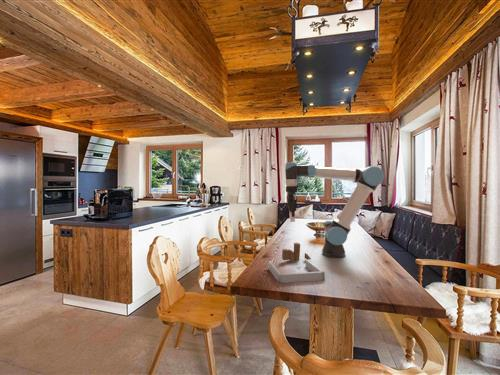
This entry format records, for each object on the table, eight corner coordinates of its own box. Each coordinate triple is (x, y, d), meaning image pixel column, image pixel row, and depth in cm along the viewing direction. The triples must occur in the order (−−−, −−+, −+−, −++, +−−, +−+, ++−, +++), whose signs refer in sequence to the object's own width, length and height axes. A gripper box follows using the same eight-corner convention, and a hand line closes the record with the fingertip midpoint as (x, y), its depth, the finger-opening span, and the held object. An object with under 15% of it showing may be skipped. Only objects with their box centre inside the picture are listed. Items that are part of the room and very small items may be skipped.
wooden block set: (284, 264, 153) (285, 247, 153) (279, 259, 162) (279, 243, 161) (310, 262, 159) (311, 246, 158) (303, 257, 167) (304, 242, 166)
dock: (307, 266, 149) (307, 259, 149) (324, 280, 128) (324, 272, 128) (268, 268, 145) (268, 261, 145) (279, 283, 124) (279, 275, 124)
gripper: (282, 186, 171) (283, 220, 171) (289, 186, 159) (291, 223, 159) (292, 185, 173) (293, 220, 173) (301, 185, 160) (302, 222, 161)
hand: (292, 221), depth 166 cm, fingers closed
